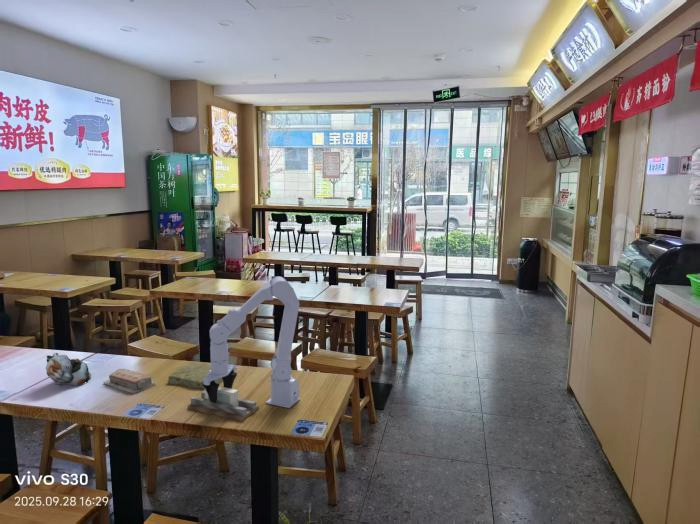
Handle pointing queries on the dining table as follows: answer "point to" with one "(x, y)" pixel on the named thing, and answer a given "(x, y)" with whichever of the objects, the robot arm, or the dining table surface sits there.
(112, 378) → the packaged product
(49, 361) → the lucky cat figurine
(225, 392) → the tall cream box
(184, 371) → the green stone slab
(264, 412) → the dining table surface
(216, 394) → the robot arm
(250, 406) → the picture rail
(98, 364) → the dining table surface
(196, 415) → the dining table surface
